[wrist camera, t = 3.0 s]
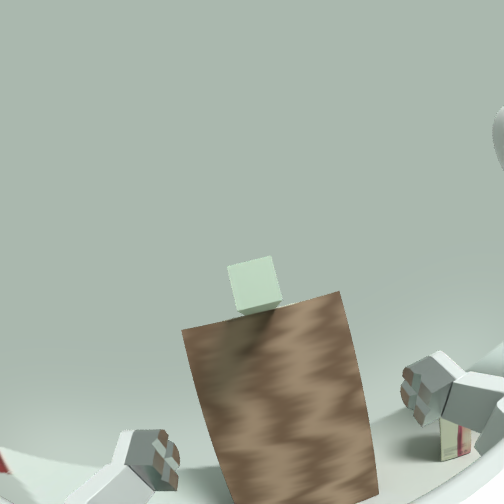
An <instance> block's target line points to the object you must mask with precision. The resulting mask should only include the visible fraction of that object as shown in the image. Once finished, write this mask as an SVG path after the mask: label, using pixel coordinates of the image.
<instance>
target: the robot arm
mask: <svg viewBox="0 0 504 504" xmlns="http://www.w3.org/2000/svg"><path fill="white" fill-rule="evenodd" d="M493 142H494V147H495V151H496V154H497V157H498V160H499V162H500V164H501V166H502V168H503V170H504V106H503V107H502V108H501V109H500V110H499V111H498V113H497V115H496V117H495V120H494V124H493ZM402 376H403V378H404V379H405V380H404V382H403V383H402V384H401V391H400V392H401V397H402V400H403V402H404V404H405V405H406V407H407V408H409V409H412V410H414V414H413V416H414V417H415V419H416V420H417V421H418V423H419V424H420V425H421V427H424V426H426V425H428V424H430V423H432V422H433V421H435V420H437V419H439V418H440V417H442V419H445V420H447V421H450V422H452V423H455V424H457V425H460V426H462V427H465V428H468V429H470V430H473V431H476V432H478V433H481V434H480V436H479V438H478V439H477V441H476V443H475V446H474V447H475V449H476V450H477V451H478V452H479V454H480V455H481V457H480V458H478V459H477V460H476V461H475V462H473V463H472V464H471V465H469V466H468V467H467V468H465V469H464V470H462V471H461V472H460V473H458V474H457V475H455V476H454V477H452V478H451V479H449V480H448V481H446V482H445V483H443V484H441V485H440V486H438V487H437V488H435V489H433V490H432V491H430V492H428V493H426V494H425V495H423V496H421V497H419V498H417V499H416V500H414V501H412V502H410V503H408V504H504V377H500V376H494V375H488V374H483V373H477V372H472V371H469V372H467V373H466V372H465V371H464V370H463V369H462V368H461V367H460V366H458V364H456V363H455V362H454V361H453V360H452V359H451V358H449V357H448V356H447V355H446V354H445V353H444V352H443V351H440V350H439V351H437V352H435V353H433V354H431V355H429V356H428V357H425V358H423V359H421V360H419V361H417V362H415V363H413V364H411V365H409V366H407V367H405V368H404V370H403V375H402ZM179 466H180V457H179V452H178V449H177V447H176V446H175V444H174V443H173V442H171V441H169V440H168V434H167V433H166V432H165V430H161V429H160V430H123V431H122V432H121V433H120V436H119V439H118V442H117V445H116V448H115V451H114V454H113V458H112V461H111V464H106V465H105V466H104V467H103V468H101V469H100V470H99V471H98V472H97V473H95V474H94V475H93V476H92V477H91V478H89V479H88V480H87V481H86V482H85V483H83V484H82V485H81V486H80V487H78V488H77V489H76V490H75V491H73V492H72V493H71V494H70V495H68V496H67V497H66V500H65V503H64V504H146V503H147V502H148V501H149V499H150V498H151V497H152V495H153V494H154V493H155V492H154V491H177V487H178V475H177V474H176V472H175V471H176V469H177V468H178V467H179ZM0 504H14V503H12V502H10V501H8V500H7V499H5V498H3V497H1V496H0Z"/></svg>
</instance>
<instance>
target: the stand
mask: <svg viewBox="0 0 504 504" xmlns="http://www.w3.org/2000/svg"><path fill="white" fill-rule="evenodd" d="M182 335H183V340H184V344H185V348H186V352H187V356H188V361H189V365H190V369H191V372H192V376H193V380H194V384H195V388H196V391H197V395H198V398H199V402H200V405H201V408H202V412H203V415H204V418H205V422H206V425H207V428H208V432H209V435H210V438H211V441H212V444H213V447H214V450H215V453H216V456H217V458H218V461H219V464H220V467H221V470H222V472H223V475H224V478H225V481H226V483H227V486H228V488H229V491H230V493H231V496H232V498H233V501H234V503H235V504H355V503H358V502H361V501H363V500H366V499H369V498H371V497H373V496H376V495H378V494H379V490H378V480H377V472H376V464H375V456H374V449H373V442H372V436H371V430H370V424H369V418H368V412H367V407H366V402H365V397H364V391H363V386H362V382H361V377H360V372H359V368H358V363H357V359H356V354H355V350H354V346H353V342H352V337H351V333H350V329H349V325H348V322H347V318H346V314H345V311H344V306H343V303H342V299H341V296H340V292H339V291H338V292H334V293H331V294H327V295H324V296H320V297H317V298H313V299H310V300H306V301H302V302H299V303H294V304H290V305H286V306H282V307H278V308H274V309H270V310H266V311H262V312H258V313H254V314H250V315H246V316H241V317H238V318H233V319H229V320H225V321H222V322H218V323H213V324H208V325H204V326H199V327H194V328H190V329H184V330H182Z"/></svg>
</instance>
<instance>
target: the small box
mask: <svg viewBox="0 0 504 504" xmlns="http://www.w3.org/2000/svg"><path fill="white" fill-rule="evenodd" d="M439 424H440V442H441V461H445V460H448V459H452V458H455V457H458V456H461V455H464V454H467V453H470V451H471V430H470V429H468V428H465V427H462V426H460V425H457V424H455V423H452V422H450V421H447V420H445V419H442V417H440V418H439Z"/></svg>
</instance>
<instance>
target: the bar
mask: <svg viewBox="0 0 504 504" xmlns="http://www.w3.org/2000/svg"><path fill="white" fill-rule="evenodd" d="M227 270H228V274H229V278H230V283H231V287H232V291H233V295H234V300H235V304H236V308H237V311H238V312H240V313H242V314H244V315H245V316H246V315H250V314H254V313H258V312H262V311H266V310H270V309H274V308H276V307H277V306H278V305H279V303H280V302H281V301H282V300H283V299H282V295H281V291H280V287H279V283H278V280H277V276H276V272H275V269H274V265H273V261H272V257H271V256H267V257H263V258H259V259H255V260H251V261H247V262H243V263H239V264H235V265H230V266H227Z"/></svg>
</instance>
